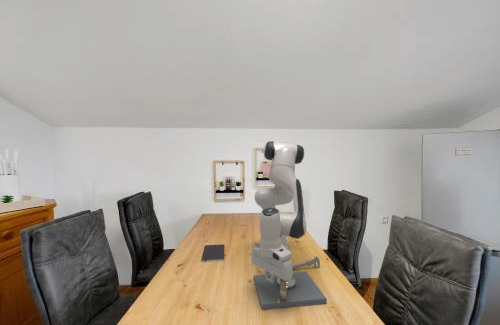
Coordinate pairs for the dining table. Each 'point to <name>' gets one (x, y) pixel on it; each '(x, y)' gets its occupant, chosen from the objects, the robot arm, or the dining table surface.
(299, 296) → the base plate
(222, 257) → the notebook
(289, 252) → the robot arm
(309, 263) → the caliper
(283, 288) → the wooden knob lever
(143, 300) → the dining table surface
